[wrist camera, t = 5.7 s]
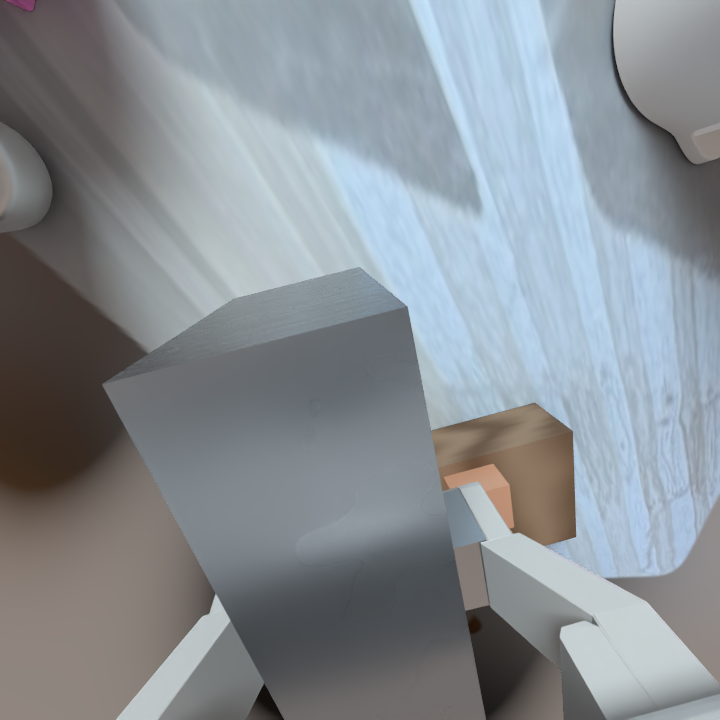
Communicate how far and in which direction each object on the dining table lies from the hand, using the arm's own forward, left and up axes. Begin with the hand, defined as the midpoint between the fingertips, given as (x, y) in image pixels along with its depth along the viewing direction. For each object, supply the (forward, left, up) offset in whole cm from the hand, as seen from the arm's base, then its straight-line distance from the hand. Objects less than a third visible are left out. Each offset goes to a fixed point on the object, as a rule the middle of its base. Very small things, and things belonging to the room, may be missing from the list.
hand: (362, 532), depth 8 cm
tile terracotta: (-7, +14, -15) cm, 22 cm away
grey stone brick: (0, 0, -2) cm, 2 cm away
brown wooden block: (-9, +17, -20) cm, 28 cm away
